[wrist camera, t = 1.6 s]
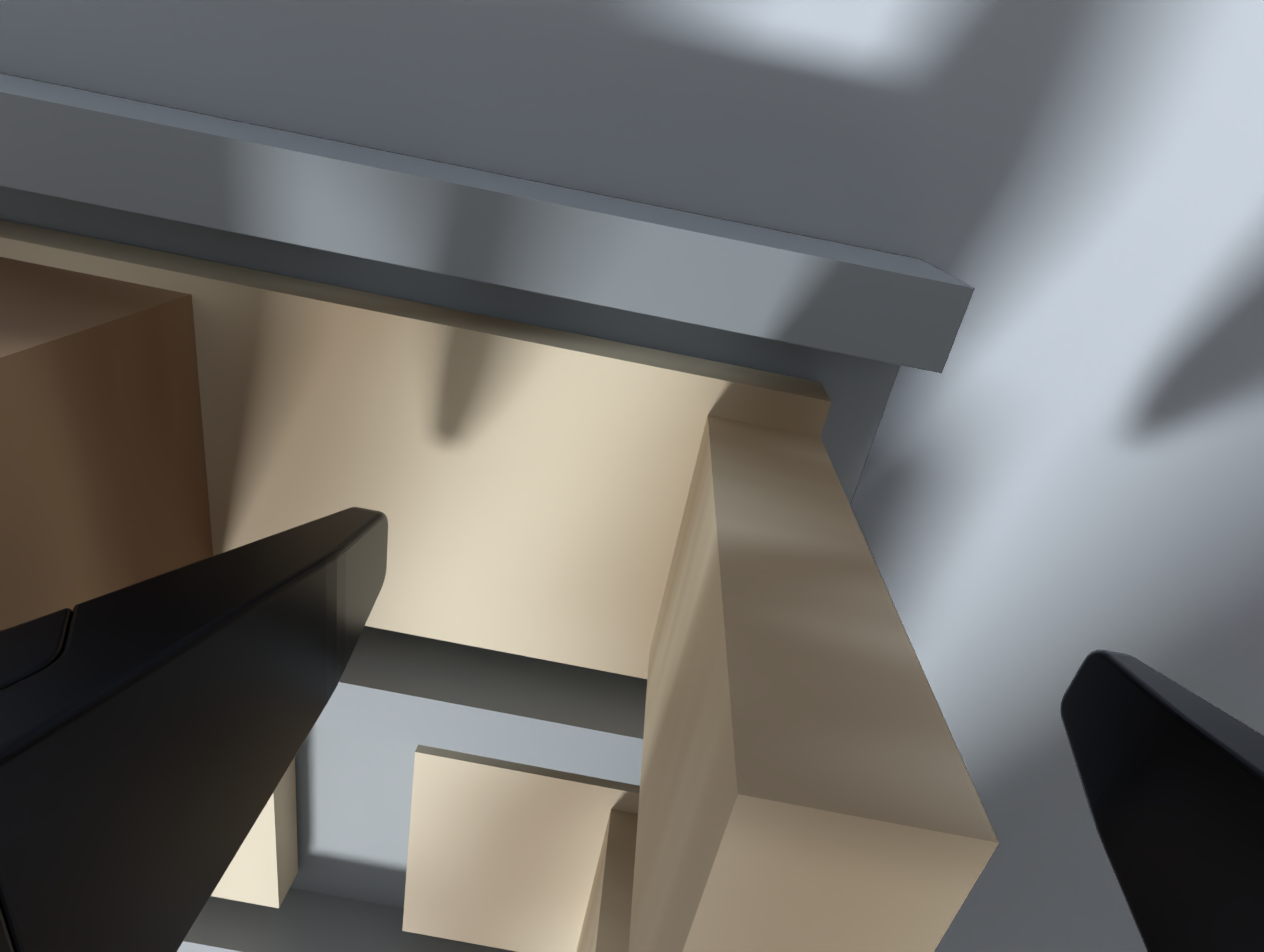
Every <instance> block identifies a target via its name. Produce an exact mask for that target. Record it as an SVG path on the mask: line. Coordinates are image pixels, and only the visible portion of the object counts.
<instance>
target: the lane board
mask: <svg viewBox="0 0 1264 952" xmlns="http://www.w3.org/2000/svg"><path fill="white" fill-rule="evenodd" d="M0 219H1V220H6V221H11V222H16V223H21V224H26V225H31V226H36V227H41V228H46V229H51V230H56V231H61V232H66V233H71V234H76V235H81V236H86V237H92V238H97V239H102V240H107V241H112V242H117V243H122V244H127V245H132V246H137V247H142V248H147V249H152V250H157V251H162V252H167V253H172V254H177V255H182V256H187V257H192V258H197V259H202V260H207V261H213V262H218V263H223V264H228V265H233V266H238V267H243V268H248V269H253V270H258V271H263V272H268V273H273V274H278V275H283V276H288V277H293V278H298V279H303V280H308V281H313V282H318V283H323V284H328V285H334V286H339V287H344V288H349V289H354V290H359V291H364V292H369V293H374V294H379V295H384V296H389V297H394V298H399V299H404V300H409V301H414V302H419V303H424V304H429V305H434V306H439V307H444V308H449V309H455V310H460V311H465V312H470V313H475V314H480V315H485V316H490V317H495V318H500V319H505V320H510V321H515V322H520V323H525V324H530V325H535V326H540V327H545V328H550V329H555V330H560V331H565V332H570V333H576V334H581V335H586V336H591V337H596V338H601V339H606V340H611V341H616V342H621V343H626V344H631V345H636V346H641V347H646V348H651V349H656V350H661V351H666V352H671V353H676V354H681V355H686V356H691V357H697V358H702V359H707V360H712V361H717V362H722V363H727V364H732V365H737V366H742V367H747V368H752V369H757V370H762V371H767V372H772V373H777V374H782V375H787V376H792V377H797V378H802V379H807V380H812V381H818V382H821V383H822V385H823V387H824V389H825V391H826V392H827V394H828V396H829V398H830V400H831V405H830V408H829V411H828V414H827V417H826V420H825V423H824V427H823V430H822V433H821V436H820V438H821V440H822V443H823V445H824V447H825V449H826V452H827V454H828V456H829V459H830V461H831V463H832V465H833V468H834V470H835V472H836V474H837V477H838V479H839V481H840V483H841V486H842V488H843V490H844V493H845V495H846V497H847V499H848V502H849V504H851V501H852V498H853V495H854V493H855V490H856V487H857V484H858V481H859V479H860V476H861V473H862V470H863V468H864V465H865V462H866V459H867V456H868V454H869V451H870V448H871V445H872V442H873V440H874V437H875V434H876V431H877V428H878V426H879V423H880V420H881V417H882V415H883V412H884V409H885V406H886V403H887V401H888V398H889V395H890V392H891V389H892V387H893V384H894V381H895V378H896V375H897V373H898V370H899V367H900V365H903V366H908V367H913V368H918V369H923V370H928V371H933V372H938V373H942V371H943V368H944V366H945V363H946V361H947V358H948V355H949V353H950V350H951V348H952V345H953V343H954V340H955V337H956V335H957V332H958V330H959V327H960V324H961V322H962V319H963V317H964V314H965V311H966V309H967V306H968V304H969V301H970V299H971V296H972V293H973V291H974V288H973V287H971V286H969V285H967V284H966V283H964V282H962V281H960V280H958V279H956V278H955V277H953V276H951V275H949V274H947V273H945V272H943V271H942V270H940V269H938V268H936V267H934V266H932V265H931V264H929V263H927V262H925V261H923V260H921V259H916V258H911V257H906V256H901V255H896V254H891V253H886V252H881V251H876V250H871V249H866V248H861V247H857V246H852V245H847V244H842V243H837V242H832V241H827V240H822V239H817V238H812V237H807V236H802V235H797V234H792V233H787V232H782V231H777V230H772V229H767V228H763V227H758V226H753V225H748V224H743V223H738V222H733V221H728V220H723V219H718V218H713V217H708V216H703V215H698V214H693V213H688V212H683V211H678V210H674V209H669V208H664V207H659V206H654V205H649V204H644V203H639V202H634V201H629V200H624V199H619V198H614V197H609V196H604V195H599V194H594V193H589V192H584V191H580V190H575V189H570V188H565V187H560V186H555V185H550V184H545V183H540V182H535V181H530V180H525V179H520V178H515V177H510V176H505V175H500V174H495V173H491V172H486V171H481V170H476V169H471V168H466V167H461V166H456V165H451V164H446V163H441V162H436V161H431V160H426V159H421V158H416V157H411V156H406V155H401V154H397V153H392V152H387V151H382V150H377V149H372V148H367V147H362V146H357V145H352V144H347V143H342V142H337V141H332V140H327V139H322V138H317V137H312V136H308V135H303V134H298V133H293V132H288V131H283V130H278V129H273V128H268V127H263V126H258V125H253V124H248V123H243V122H238V121H233V120H228V119H223V118H218V117H214V116H209V115H204V114H199V113H194V112H189V111H184V110H179V109H174V108H169V107H164V106H159V105H154V104H149V103H144V102H139V101H134V100H129V99H124V98H120V97H115V96H110V95H105V94H100V93H95V92H90V91H85V90H80V89H75V88H70V87H65V86H60V85H55V84H50V83H45V82H40V81H35V80H31V79H26V78H21V77H16V76H11V75H6V74H1V73H0ZM646 691H647V679H643V678H638V677H633V676H627V675H622V674H617V673H612V672H606V671H601V670H596V669H590V668H585V667H580V666H575V665H569V664H564V663H559V662H553V661H548V660H543V659H538V658H532V657H527V656H522V655H517V654H511V653H506V652H501V651H495V650H490V649H485V648H480V647H474V646H469V645H464V644H458V643H453V642H448V641H443V640H437V639H432V638H427V637H422V636H416V635H411V634H406V633H400V632H395V631H390V630H385V629H379V628H374V627H369V626H364V628H363V631H362V633H361V635H360V637H359V639H358V642H357V644H356V646H355V648H354V651H353V653H352V655H351V657H350V659H349V662H348V664H347V666H346V668H345V670H344V673H343V675H342V677H341V679H340V681H339V683H338V685H337V687H336V689H335V691H334V692H333V694H332V696H331V698H330V699H329V701H328V703H327V705H326V706H325V708H324V710H323V711H322V713H321V715H320V716H319V718H318V720H317V721H316V723H315V725H314V726H313V728H312V730H311V731H310V733H309V734H308V736H307V738H306V739H305V741H304V743H303V744H302V746H301V748H300V749H299V751H298V753H297V754H296V756H295V777H296V812H297V847H298V873H297V875H296V877H295V879H294V881H293V883H292V884H291V886H290V888H289V890H288V892H287V894H286V896H285V898H284V900H283V902H282V904H281V906H280V907H279V908H274V907H268V906H263V905H257V904H252V903H246V902H241V901H235V900H230V899H224V898H219V897H213V896H210V898H209V900H208V901H207V903H206V904H205V906H204V908H203V909H202V911H201V913H200V914H199V916H198V918H197V919H196V921H195V923H194V924H193V926H192V928H191V929H190V931H189V933H188V934H187V936H186V938H185V939H184V941H183V942H182V944H181V946H180V947H179V949H178V951H177V952H516V951H511V950H505V949H500V948H494V947H489V946H483V945H478V944H472V943H467V942H461V941H456V940H450V939H445V938H439V937H434V936H428V935H423V934H417V933H412V932H406V931H402V928H403V914H404V900H405V885H406V871H407V857H408V843H409V829H410V815H411V801H412V787H413V773H414V759H415V751H416V748H417V746H418V744H419V745H424V746H430V747H435V748H440V749H446V750H451V751H456V752H462V753H467V754H472V755H478V756H483V757H488V758H494V759H499V760H505V761H510V762H515V763H521V764H526V765H531V766H537V767H542V768H547V769H553V770H558V771H563V772H569V773H574V774H580V775H585V776H590V777H596V778H601V779H606V780H612V781H617V782H622V783H628V784H633V785H639V786H640V779H641V764H642V750H643V735H644V720H645V706H646Z"/></svg>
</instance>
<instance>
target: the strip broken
mask: <svg viewBox="0 0 1264 952" xmlns="http://www.w3.org/2000/svg"><path fill="white" fill-rule="evenodd" d="M639 793H640V786H639V785H633V784H628V783H622V782H617V781H612V780H606V779H601V778H596V777H590V776H585V775H580V774H574V773H569V772H563V771H558V770H553V769H547V768H542V767H537V766H531V765H526V764H521V763H515V762H510V761H505V760H499V759H494V758H488V757H483V756H478V755H472V754H467V753H462V752H456V751H451V750H446V749H440V748H435V747H430V746H424V745H419V744H418V746H417V748H416V751H415V759H414V773H413V787H412V801H411V815H410V829H409V843H408V857H407V871H406V885H405V900H404V914H403V928H402V931H406V932H412V933H417V934H423V935H428V936H434V937H439V938H445V939H450V940H456V941H461V942H467V943H472V944H478V945H483V946H489V947H494V948H500V949H505V950H511V951H516V952H629V938H630V924H631V909H632V895H633V880H634V866H635V851H636V837H637V822H638V808H639ZM297 873H298V847H297V812H296V777H295V758H294V759H293V761H292V763H291V764H290V766H289V767H288V769H287V771H286V772H285V774H284V776H283V777H282V779H281V781H280V782H279V784H278V786H277V787H276V789H275V791H274V792H273V794H272V796H271V797H270V799H269V800H268V802H267V804H266V805H265V807H264V809H263V810H262V812H261V814H260V815H259V817H258V819H257V820H256V822H255V824H254V825H253V827H252V829H251V830H250V832H249V834H248V835H247V837H246V838H245V840H244V842H243V843H242V845H241V847H240V848H239V850H238V852H237V853H236V855H235V857H234V858H233V860H232V862H231V863H230V865H229V867H228V868H227V870H226V871H225V873H224V875H223V876H222V878H221V880H220V881H219V883H218V885H217V886H216V888H215V890H214V891H213V893H212V895H211V896H213V897H219V898H224V899H230V900H235V901H241V902H246V903H252V904H257V905H263V906H268V907H274V908H279V907H280V906H281V904H282V902H283V900H284V898H285V896H286V894H287V892H288V890H289V888H290V886H291V884H292V883H293V881H294V879H295V877H296V875H297Z"/></svg>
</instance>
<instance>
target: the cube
mask: <svg viewBox="0 0 1264 952" xmlns="http://www.w3.org/2000/svg"><path fill="white" fill-rule="evenodd" d="M212 556H213V547H212V535H211V523H210V511H209V498H208V486H207V474H206V462H205V450H204V438H203V426H202V414H201V402H200V390H199V378H198V366H197V353H196V341H195V329H194V317H193V305H192V294H187V293H182V292H176V291H171V290H166V289H161V288H156V287H151V286H146V285H141V284H136V283H131V282H126V281H121V280H116V279H111V278H106V277H100V276H95V275H90V274H85V273H80V272H75V271H70V270H65V269H60V268H55V267H50V266H45V265H40V264H35V263H30V262H24V261H19V260H14V259H9V258H4V257H0V631H2V630H5V629H8V628H11V627H14V626H17V625H19V624H22V623H25V622H28V621H31V620H34V619H37V618H40V617H42V616H45V615H48V614H51V613H53V612H56V611H59V610H62V609H64V608H70V609H71V610H72V611H73V608H74V606H75V605H77V604H79V603H82V602H85V601H88V600H91V599H93V598H96V597H99V596H102V595H105V594H107V593H110V592H113V591H116V590H119V589H122V588H124V587H127V586H130V585H133V584H136V583H139V582H141V581H144V580H147V579H150V578H153V577H156V576H158V575H161V574H164V573H167V572H170V571H172V570H175V569H178V568H181V567H184V566H187V565H189V564H192V563H195V562H198V561H201V560H204V559H206V558H209V557H212Z"/></svg>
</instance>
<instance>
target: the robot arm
mask: <svg viewBox="0 0 1264 952" xmlns="http://www.w3.org/2000/svg"><path fill="white" fill-rule="evenodd" d="M387 545H388V519H387V516H386V515H385V514H384V513H383V512H380V511H376V510H370V509H365V508H360V507H351V508H348V509H345V510H342V511H339V512H336V513H334V514H331V515H328V516H325V517H322V518H319V519H317V520H314V521H311V522H308V523H305V524H302V525H300V526H297V527H294V528H291V529H288V530H286V531H283V532H280V533H277V534H274V535H271V536H269V537H266V538H263V539H260V540H257V541H254V542H252V543H249V544H246V545H243V546H240V547H237V548H235V549H232V550H229V551H226V552H223V553H221V554H218V555H215V556H212V557H209V558H206V559H204V560H201V561H198V562H195V563H192V564H189V565H187V566H184V567H181V568H178V569H175V570H172V571H170V572H167V573H164V574H161V575H158V576H156V577H153V578H150V579H147V580H144V581H141V582H139V583H136V584H133V585H130V586H127V587H124V588H122V589H119V590H116V591H113V592H110V593H107V594H105V595H102V596H99V597H96V598H93V599H91V600H88V601H85V602H82V603H79V604H77V605H75V606H74V608H73V611H72V610H71V609H70V608H64V609H62V610H59V611H56V612H53V613H51V614H48V615H45V616H42V617H40V618H37V619H34V620H31V621H28V622H25V623H22V624H19V625H17V626H14V627H11V628H8V629H5V630H2V631H0V952H177V951H178V949H179V947H180V946H181V944H182V942H183V941H184V939H185V938H186V936H187V934H188V933H189V931H190V929H191V928H192V926H193V924H194V923H195V921H196V919H197V918H198V916H199V914H200V913H201V911H202V909H203V908H204V906H205V904H206V903H207V901H208V900H209V898H210V896H211V895H212V893H213V891H214V890H215V888H216V886H217V885H218V883H219V881H220V880H221V878H222V876H223V875H224V873H225V871H226V870H227V868H228V867H229V865H230V863H231V862H232V860H233V858H234V857H235V855H236V853H237V852H238V850H239V848H240V847H241V845H242V843H243V842H244V840H245V838H246V837H247V835H248V834H249V832H250V830H251V829H252V827H253V825H254V824H255V822H256V820H257V819H258V817H259V815H260V814H261V812H262V810H263V809H264V807H265V805H266V804H267V802H268V800H269V799H270V797H271V796H272V794H273V792H274V791H275V789H276V787H277V786H278V784H279V782H280V781H281V779H282V777H283V776H284V774H285V772H286V771H287V769H288V767H289V766H290V764H291V763H292V761H293V759H294V758H295V756H296V754H297V753H298V751H299V749H300V748H301V746H302V744H303V743H304V741H305V739H306V738H307V736H308V734H309V733H310V731H311V730H312V728H313V726H314V725H315V723H316V721H317V720H318V718H319V716H320V715H321V713H322V711H323V710H324V708H325V706H326V705H327V703H328V701H329V699H330V698H331V696H332V694H333V692H334V691H335V689H336V687H337V685H338V683H339V681H340V679H341V677H342V675H343V673H344V670H345V668H346V666H347V664H348V662H349V659H350V657H351V655H352V653H353V651H354V648H355V646H356V644H357V642H358V639H359V637H360V635H361V633H362V631H363V628H364V626H365V624H366V622H367V620H368V617H369V615H370V613H371V611H372V608H373V606H374V604H375V602H376V600H377V597H378V595H379V593H380V591H381V588H382V586H383V583H384V580H385V575H386V568H387ZM1061 717H1062V721H1063V724H1064V727H1065V730H1066V734H1067V737H1068V740H1069V743H1070V746H1071V750H1072V753H1073V756H1074V759H1075V763H1076V766H1077V769H1078V772H1079V775H1080V779H1081V782H1082V785H1083V788H1084V791H1085V795H1086V798H1087V801H1088V804H1089V808H1090V811H1091V814H1092V817H1093V820H1094V823H1095V826H1096V829H1097V831H1098V834H1099V836H1100V839H1101V841H1102V844H1103V847H1104V849H1105V852H1106V854H1107V856H1108V859H1109V861H1110V863H1111V866H1112V868H1113V871H1114V873H1115V875H1116V878H1117V880H1118V882H1119V885H1120V887H1121V890H1122V892H1123V894H1124V897H1125V899H1126V901H1127V904H1128V906H1129V909H1130V911H1131V913H1132V916H1133V918H1134V920H1135V923H1136V925H1137V928H1138V930H1139V932H1140V935H1141V937H1142V939H1143V942H1144V944H1145V947H1146V949H1147V951H1148V952H1264V736H1263V735H1261V734H1260V733H1258V732H1256V731H1255V730H1253V729H1252V728H1250V727H1248V726H1247V725H1245V724H1243V723H1242V722H1240V721H1238V720H1237V719H1235V718H1233V717H1232V716H1230V715H1228V714H1227V713H1225V712H1223V711H1222V710H1220V709H1218V708H1217V707H1215V706H1213V705H1212V704H1210V703H1209V702H1207V701H1205V700H1204V699H1202V698H1200V697H1199V696H1197V695H1195V694H1194V693H1192V692H1190V691H1189V690H1187V689H1185V688H1184V687H1182V686H1180V685H1179V684H1177V683H1175V682H1174V681H1172V680H1171V679H1169V678H1167V677H1166V676H1164V675H1162V674H1161V673H1159V672H1157V671H1156V670H1154V669H1152V668H1151V667H1149V666H1147V665H1146V664H1144V663H1142V662H1141V661H1139V660H1137V659H1136V658H1134V657H1132V656H1130V655H1126V654H1122V653H1117V652H1111V651H1106V650H1096V651H1093V652H1091V653H1090V654H1089V655H1087V657H1086V658H1085V660H1084V661H1083V663H1082V665H1081V667H1080V668H1079V670H1078V672H1077V673H1076V675H1075V677H1074V679H1073V680H1072V682H1071V684H1070V685H1069V687H1068V689H1067V691H1066V692H1065V694H1064V696H1063V699H1062V702H1061Z"/></svg>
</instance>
